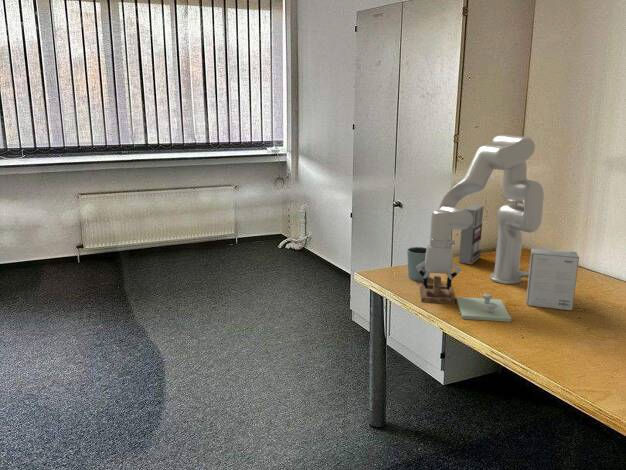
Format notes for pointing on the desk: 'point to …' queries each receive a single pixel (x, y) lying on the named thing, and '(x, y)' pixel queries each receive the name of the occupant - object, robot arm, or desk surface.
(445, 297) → the brown wooden puzzle block
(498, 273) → the robot arm
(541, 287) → the hard drive box
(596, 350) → the desk surface
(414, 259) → the blue-grey cup
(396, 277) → the desk surface
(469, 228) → the tall grey labeled box
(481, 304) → the board
